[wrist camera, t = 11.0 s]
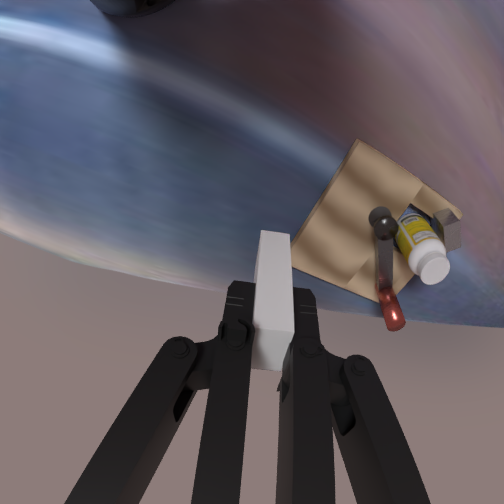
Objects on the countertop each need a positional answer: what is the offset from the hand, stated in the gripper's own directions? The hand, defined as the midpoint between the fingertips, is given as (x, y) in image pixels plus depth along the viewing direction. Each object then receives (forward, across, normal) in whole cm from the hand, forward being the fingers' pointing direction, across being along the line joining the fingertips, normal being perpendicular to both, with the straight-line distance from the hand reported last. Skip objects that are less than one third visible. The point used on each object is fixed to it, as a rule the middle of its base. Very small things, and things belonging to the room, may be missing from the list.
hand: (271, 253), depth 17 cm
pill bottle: (+27, +24, -10) cm, 37 cm away
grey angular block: (+26, +28, -8) cm, 40 cm away
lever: (+24, +20, -15) cm, 34 cm away
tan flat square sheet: (+26, +18, -12) cm, 34 cm away
